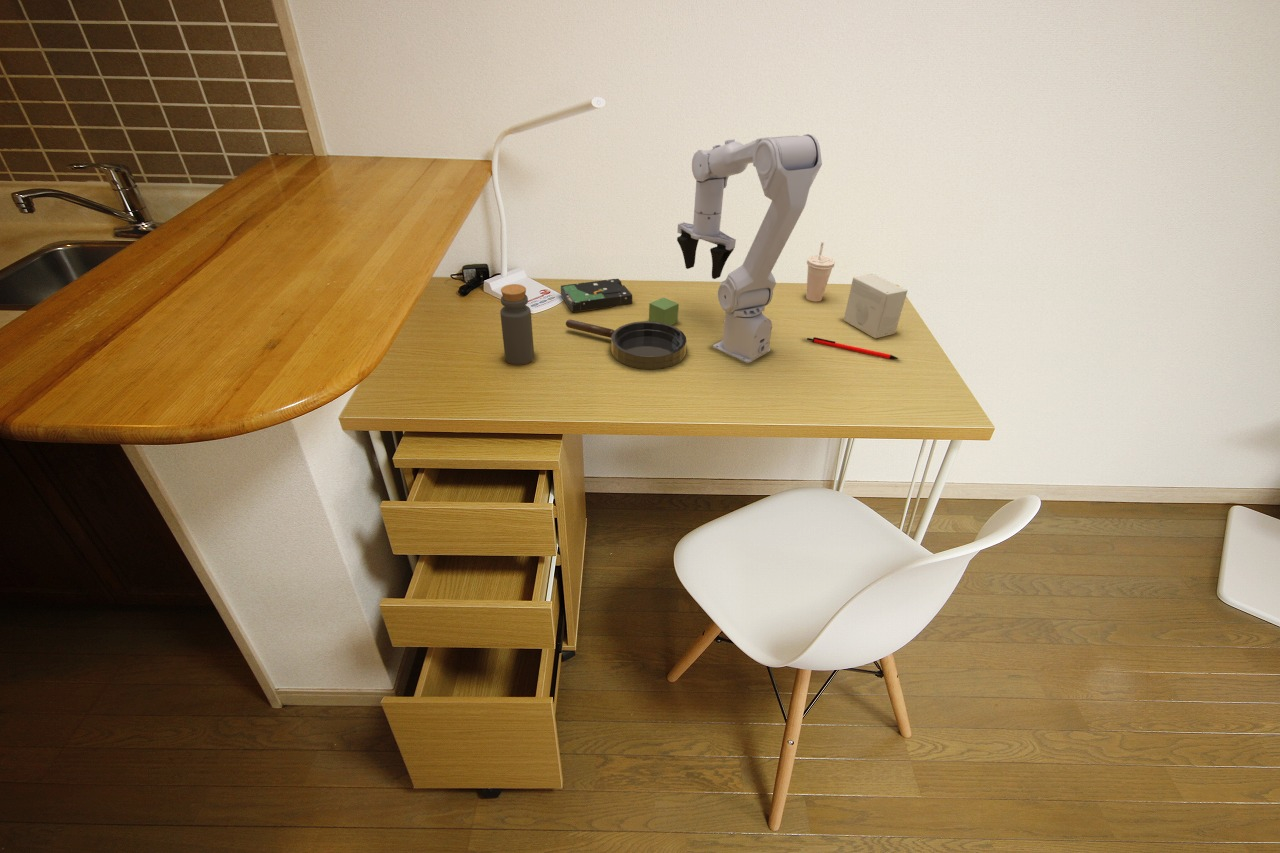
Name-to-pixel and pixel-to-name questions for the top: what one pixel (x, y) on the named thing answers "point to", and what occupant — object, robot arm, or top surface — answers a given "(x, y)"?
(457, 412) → the top surface
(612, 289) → the disk drive
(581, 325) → the skillet handle
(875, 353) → the pen
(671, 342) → the skillet
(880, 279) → the cosmetics box
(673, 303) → the block
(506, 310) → the bottle
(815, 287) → the smoothie
